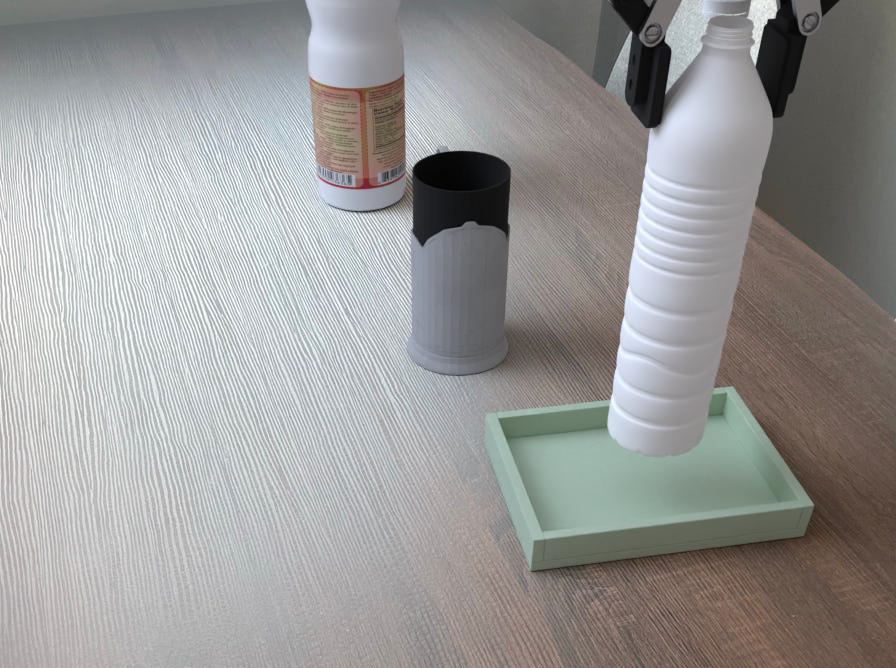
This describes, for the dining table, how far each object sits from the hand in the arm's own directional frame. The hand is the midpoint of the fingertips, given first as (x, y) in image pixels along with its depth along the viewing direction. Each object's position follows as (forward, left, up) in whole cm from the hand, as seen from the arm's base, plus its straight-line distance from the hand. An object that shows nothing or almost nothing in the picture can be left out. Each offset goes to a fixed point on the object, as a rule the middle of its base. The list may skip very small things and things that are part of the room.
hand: (705, 110), depth 56 cm
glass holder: (+9, -24, -26) cm, 37 cm away
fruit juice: (+13, -53, -26) cm, 61 cm away
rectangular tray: (0, 0, -26) cm, 26 cm away
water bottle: (0, 0, -21) cm, 21 cm away
